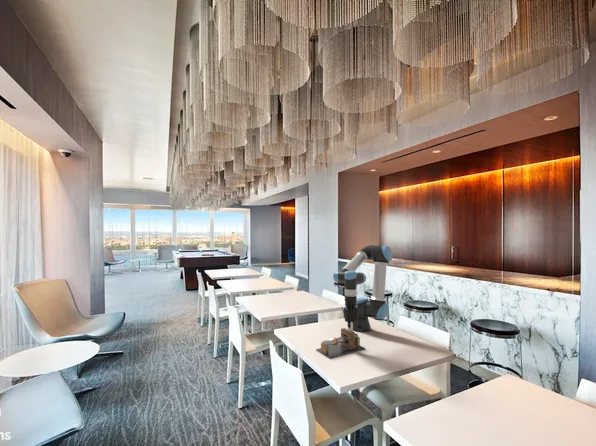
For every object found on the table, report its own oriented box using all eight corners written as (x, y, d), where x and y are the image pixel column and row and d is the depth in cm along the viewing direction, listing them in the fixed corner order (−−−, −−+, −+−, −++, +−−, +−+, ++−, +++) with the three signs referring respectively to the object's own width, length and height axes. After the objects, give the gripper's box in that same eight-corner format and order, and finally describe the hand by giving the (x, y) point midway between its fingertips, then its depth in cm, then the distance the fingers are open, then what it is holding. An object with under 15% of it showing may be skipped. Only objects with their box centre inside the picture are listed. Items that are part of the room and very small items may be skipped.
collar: (344, 343, 191) (344, 327, 191) (354, 348, 182) (354, 332, 182) (340, 344, 189) (340, 328, 190) (351, 349, 181) (351, 333, 181)
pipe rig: (350, 342, 196) (350, 329, 196) (365, 349, 184) (365, 336, 184) (316, 350, 182) (316, 337, 182) (329, 358, 170) (329, 344, 170)
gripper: (354, 293, 195) (354, 329, 194) (338, 295, 188) (338, 332, 187) (362, 295, 188) (362, 332, 187) (346, 297, 181) (346, 336, 180)
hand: (350, 332), depth 187 cm, fingers closed
